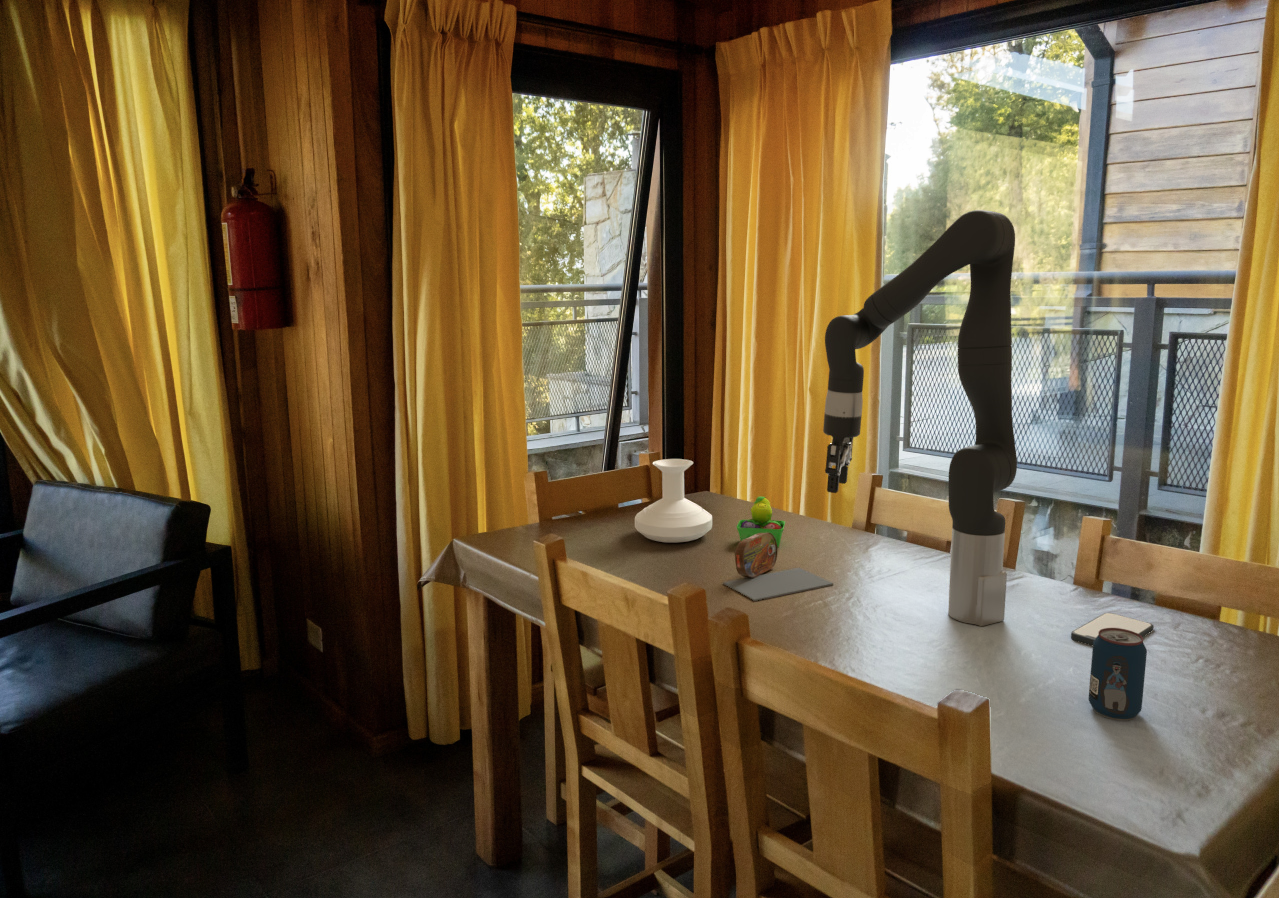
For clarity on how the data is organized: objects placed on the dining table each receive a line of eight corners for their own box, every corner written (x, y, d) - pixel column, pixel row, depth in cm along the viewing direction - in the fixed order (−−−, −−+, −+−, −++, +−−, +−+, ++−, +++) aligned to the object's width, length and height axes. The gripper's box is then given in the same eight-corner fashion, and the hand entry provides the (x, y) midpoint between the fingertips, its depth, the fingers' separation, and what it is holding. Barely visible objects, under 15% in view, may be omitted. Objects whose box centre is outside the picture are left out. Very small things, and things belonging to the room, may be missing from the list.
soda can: (1123, 699, 133) (1130, 625, 131) (1151, 722, 126) (1158, 644, 124) (1078, 701, 133) (1084, 626, 131) (1104, 723, 126) (1110, 645, 124)
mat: (833, 584, 186) (833, 583, 185) (754, 601, 177) (754, 599, 177) (799, 569, 196) (799, 567, 196) (723, 584, 188) (723, 582, 187)
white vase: (622, 532, 228) (620, 460, 225) (689, 522, 237) (689, 452, 233) (655, 552, 211) (654, 474, 207) (727, 541, 219) (727, 465, 215)
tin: (745, 581, 187) (744, 543, 186) (733, 580, 189) (731, 542, 188) (779, 565, 198) (778, 529, 198) (767, 564, 200) (765, 528, 199)
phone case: (1105, 619, 166) (1067, 640, 156) (1105, 610, 166) (1068, 632, 156) (1155, 632, 159) (1120, 656, 149) (1156, 624, 159) (1121, 647, 149)
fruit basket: (736, 547, 214) (735, 502, 211) (740, 537, 222) (740, 493, 220) (783, 549, 211) (783, 504, 209) (785, 539, 219) (786, 495, 217)
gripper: (854, 419, 173) (847, 498, 177) (867, 408, 186) (861, 482, 189) (817, 415, 176) (811, 493, 180) (832, 405, 189) (827, 477, 192)
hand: (837, 487), depth 185 cm, fingers open, 8 cm apart
